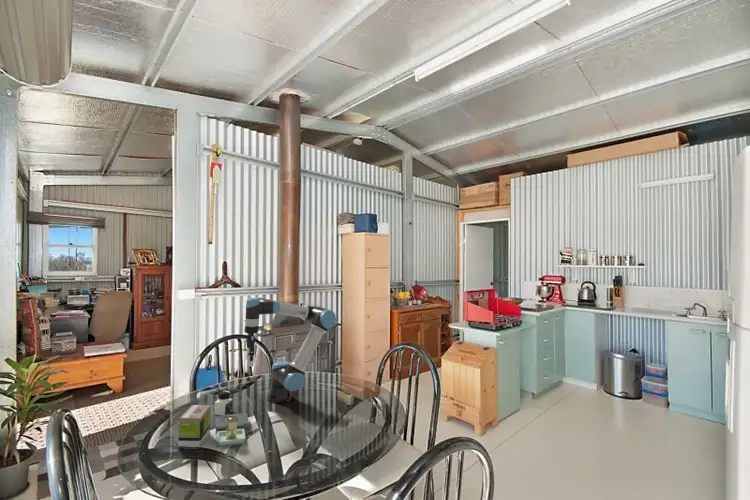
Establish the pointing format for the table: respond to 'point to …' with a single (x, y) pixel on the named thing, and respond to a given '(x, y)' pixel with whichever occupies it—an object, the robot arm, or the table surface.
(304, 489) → the table surface
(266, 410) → the table surface
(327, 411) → the table surface
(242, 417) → the grey rectangular slab
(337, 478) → the table surface
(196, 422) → the tea box
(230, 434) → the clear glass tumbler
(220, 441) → the parts tray
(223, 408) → the medicine bottle
